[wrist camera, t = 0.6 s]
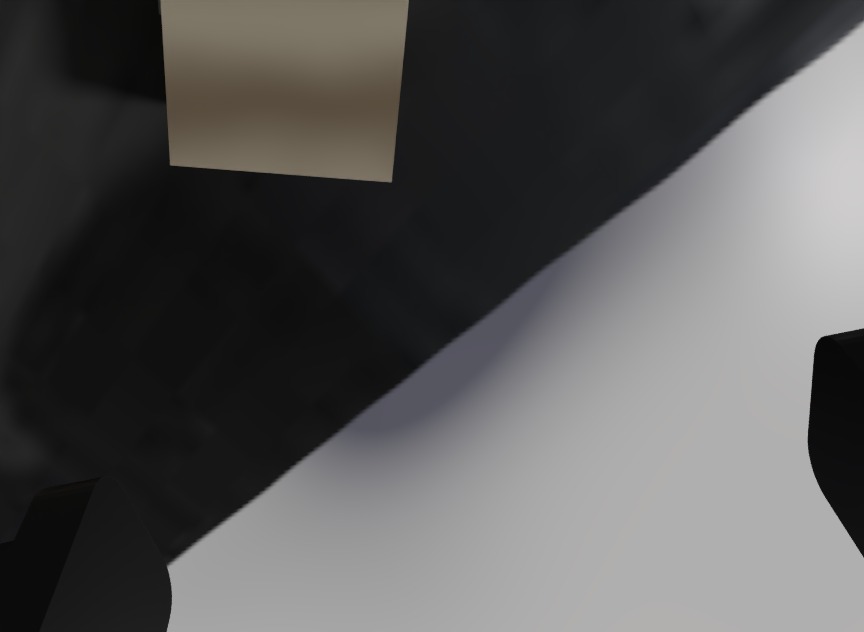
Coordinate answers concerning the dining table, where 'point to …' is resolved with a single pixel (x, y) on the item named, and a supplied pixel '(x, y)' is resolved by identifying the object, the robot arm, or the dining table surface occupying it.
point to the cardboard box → (284, 85)
